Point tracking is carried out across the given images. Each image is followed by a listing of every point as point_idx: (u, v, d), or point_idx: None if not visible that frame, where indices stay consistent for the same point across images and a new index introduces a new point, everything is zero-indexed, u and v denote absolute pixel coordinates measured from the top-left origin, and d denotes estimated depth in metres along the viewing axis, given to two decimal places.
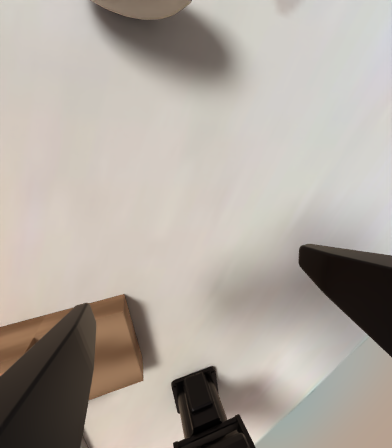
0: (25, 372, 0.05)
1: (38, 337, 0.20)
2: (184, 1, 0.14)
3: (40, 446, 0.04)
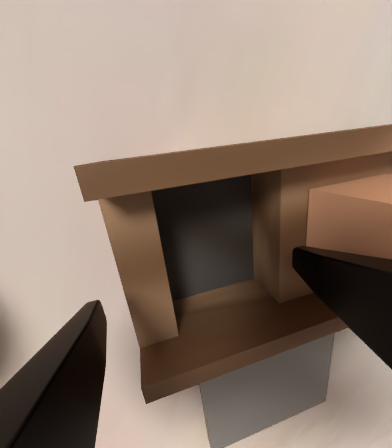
0: (44, 366, 0.05)
1: None
2: None
3: (60, 438, 0.04)
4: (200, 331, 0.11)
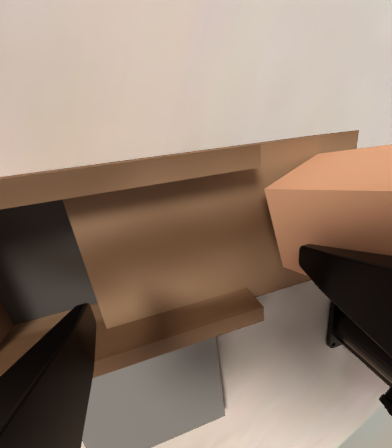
0: (25, 372, 0.05)
1: None
2: None
3: (40, 446, 0.04)
4: (9, 359, 0.11)
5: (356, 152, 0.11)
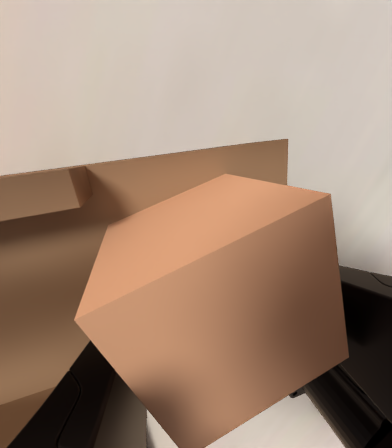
0: None
1: (97, 168, 0.07)
2: None
3: (128, 412, 0.04)
4: None
5: (236, 186, 0.06)
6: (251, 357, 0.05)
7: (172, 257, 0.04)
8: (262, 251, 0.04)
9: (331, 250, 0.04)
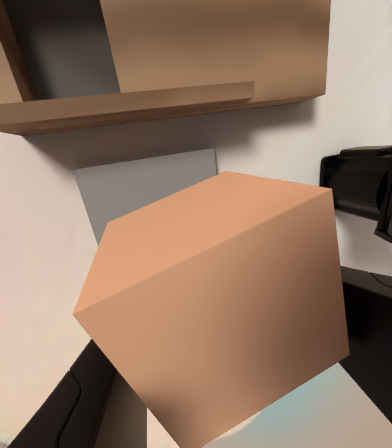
0: None
1: None
2: None
3: (128, 412, 0.04)
4: None
5: (236, 183, 0.06)
6: (251, 354, 0.05)
7: (172, 252, 0.04)
8: (263, 245, 0.04)
9: (332, 245, 0.04)
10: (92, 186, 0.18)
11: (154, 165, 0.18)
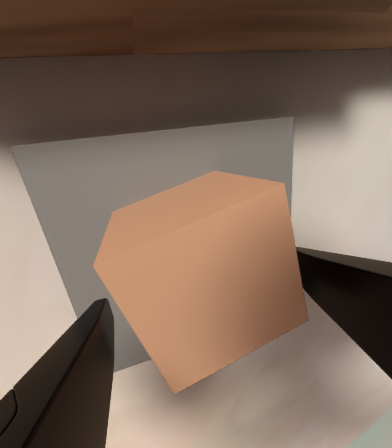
0: (57, 362, 0.05)
1: None
2: None
3: (75, 433, 0.04)
4: None
5: (221, 180, 0.08)
6: (225, 311, 0.06)
7: (165, 227, 0.05)
8: (232, 224, 0.05)
9: (288, 227, 0.06)
10: (55, 184, 0.08)
11: (185, 145, 0.09)
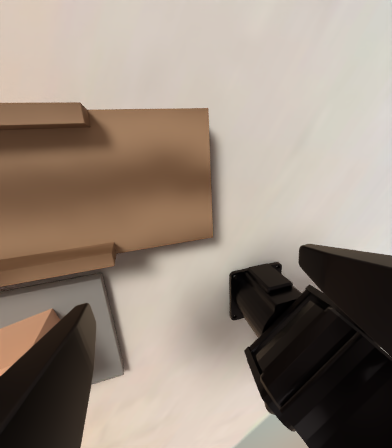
0: (25, 372, 0.05)
1: (94, 112, 0.13)
2: None
3: (40, 446, 0.04)
4: None
5: (33, 330, 0.16)
6: None
7: None
8: None
9: None
10: None
11: (30, 299, 0.18)
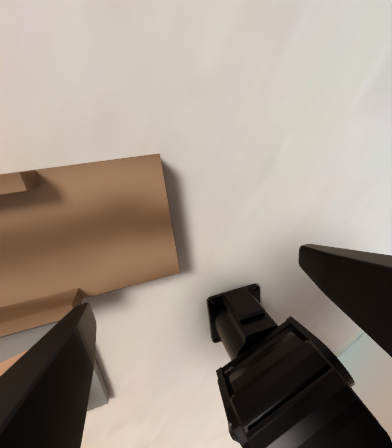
0: (25, 372, 0.05)
1: (42, 171, 0.14)
2: None
3: (40, 446, 0.04)
4: None
5: None
6: None
7: None
8: None
9: None
10: None
11: (6, 343, 0.18)
